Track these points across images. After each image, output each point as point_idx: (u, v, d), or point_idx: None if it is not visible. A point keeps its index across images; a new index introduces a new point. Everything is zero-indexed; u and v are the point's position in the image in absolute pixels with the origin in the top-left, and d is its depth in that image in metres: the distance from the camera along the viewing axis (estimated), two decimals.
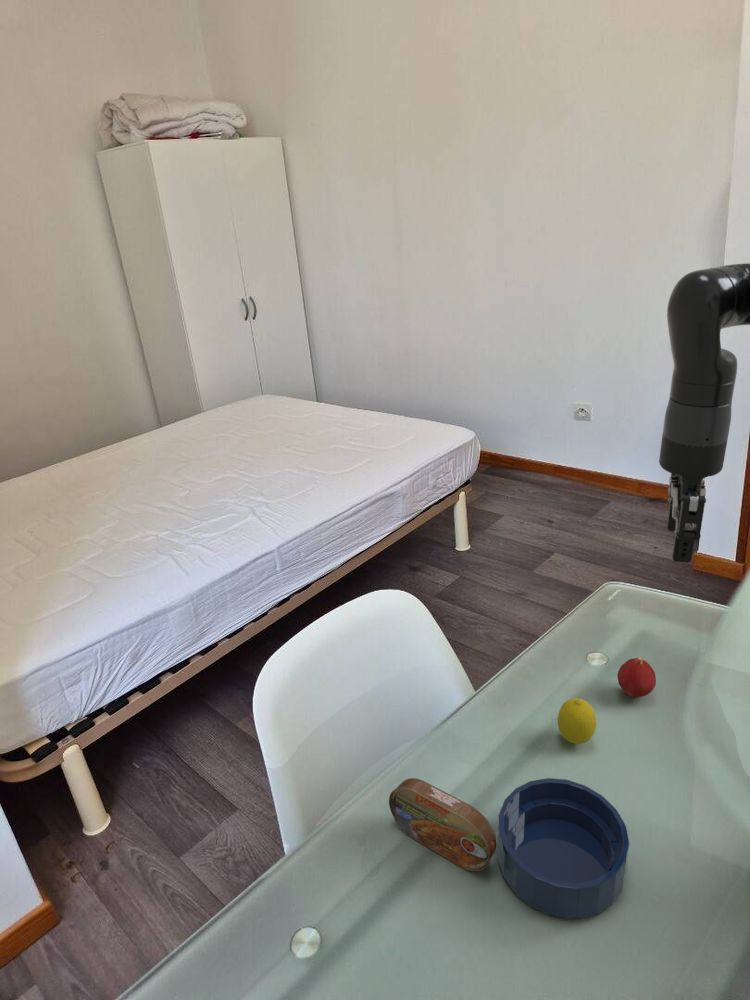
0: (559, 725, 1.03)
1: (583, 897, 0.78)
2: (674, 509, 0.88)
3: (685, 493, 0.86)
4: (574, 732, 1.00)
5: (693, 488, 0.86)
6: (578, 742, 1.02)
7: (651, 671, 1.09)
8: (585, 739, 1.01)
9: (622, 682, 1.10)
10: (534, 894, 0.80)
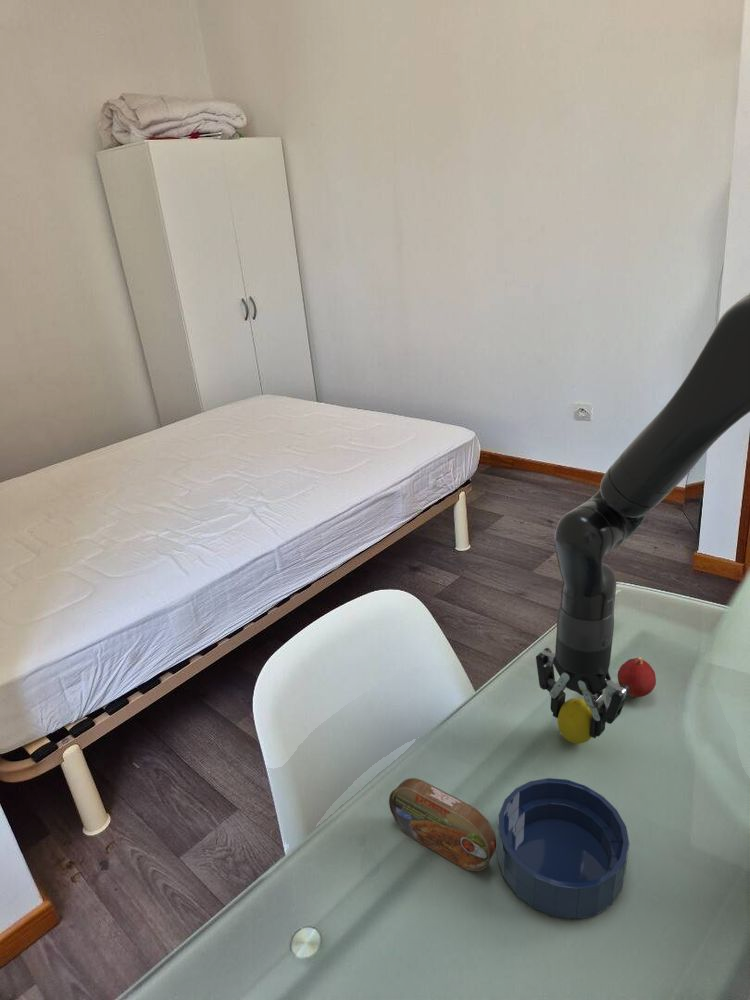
0: (559, 725, 1.03)
1: (583, 897, 0.78)
2: (592, 701, 0.97)
3: (605, 685, 0.95)
4: (574, 732, 1.00)
5: (606, 678, 0.96)
6: (578, 742, 1.02)
7: (651, 671, 1.09)
8: (585, 739, 1.01)
9: (622, 682, 1.10)
10: (534, 894, 0.80)
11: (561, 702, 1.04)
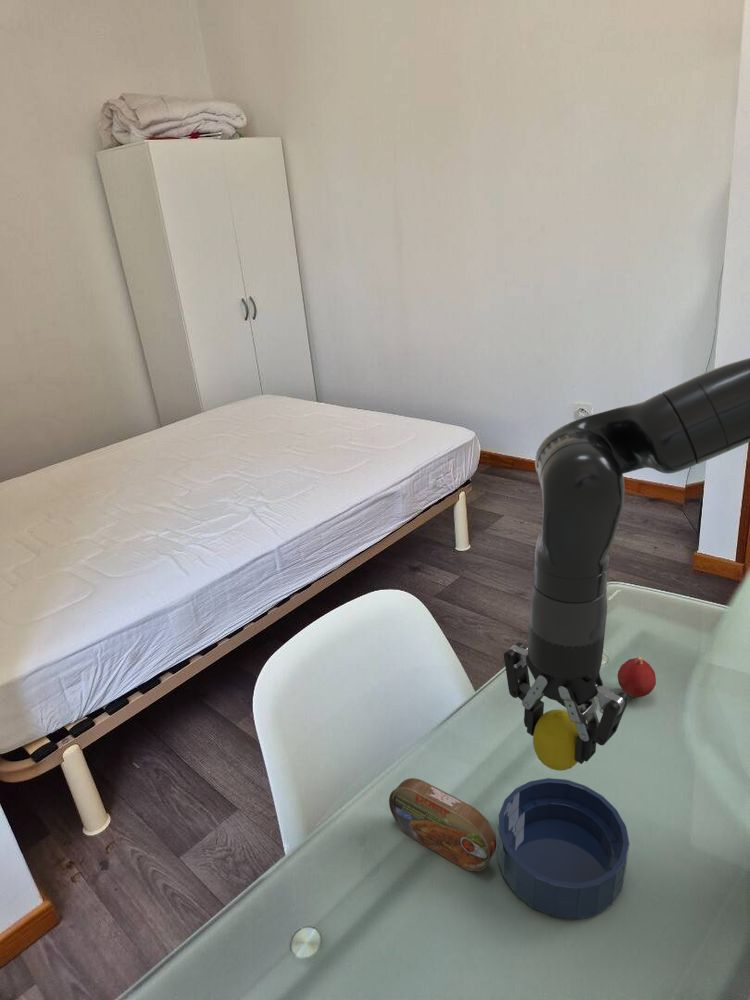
0: (535, 745, 0.77)
1: (583, 897, 0.78)
2: (578, 715, 0.71)
3: (595, 692, 0.70)
4: (553, 756, 0.75)
5: (597, 683, 0.70)
6: (560, 769, 0.76)
7: (651, 671, 1.09)
8: (568, 765, 0.75)
9: (622, 682, 1.10)
10: (534, 894, 0.80)
11: (537, 714, 0.78)
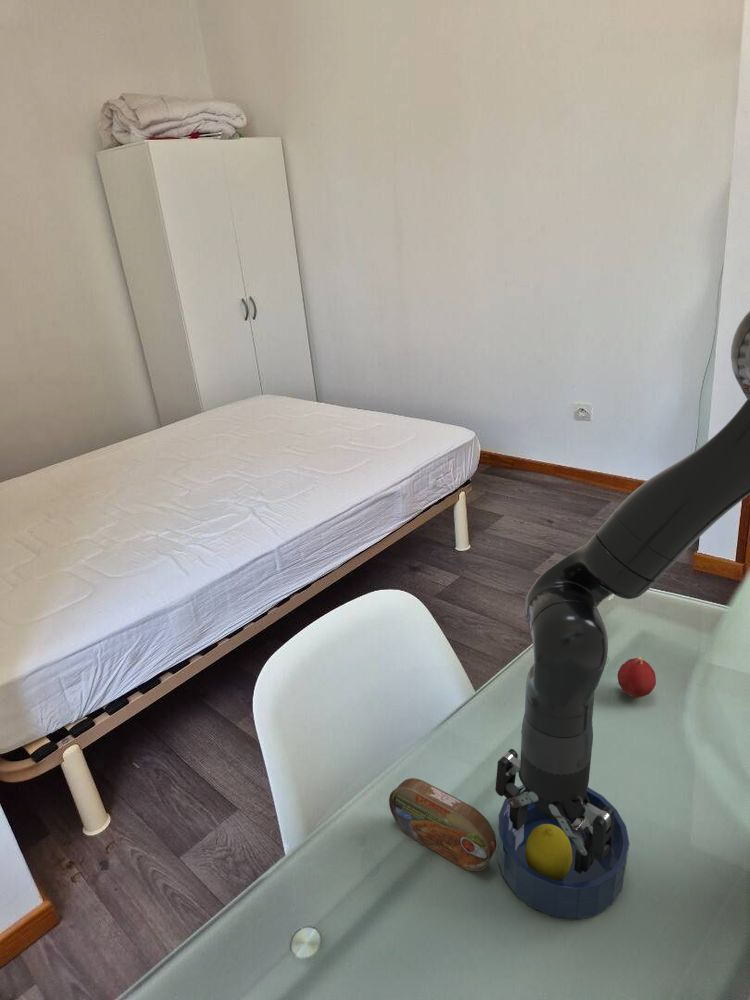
0: (527, 858, 0.83)
1: (583, 897, 0.78)
2: (571, 830, 0.76)
3: (583, 812, 0.75)
4: (544, 871, 0.81)
5: (583, 801, 0.76)
6: None
7: (651, 671, 1.09)
8: (558, 879, 0.81)
9: (622, 682, 1.10)
10: (534, 894, 0.80)
11: (522, 811, 0.84)
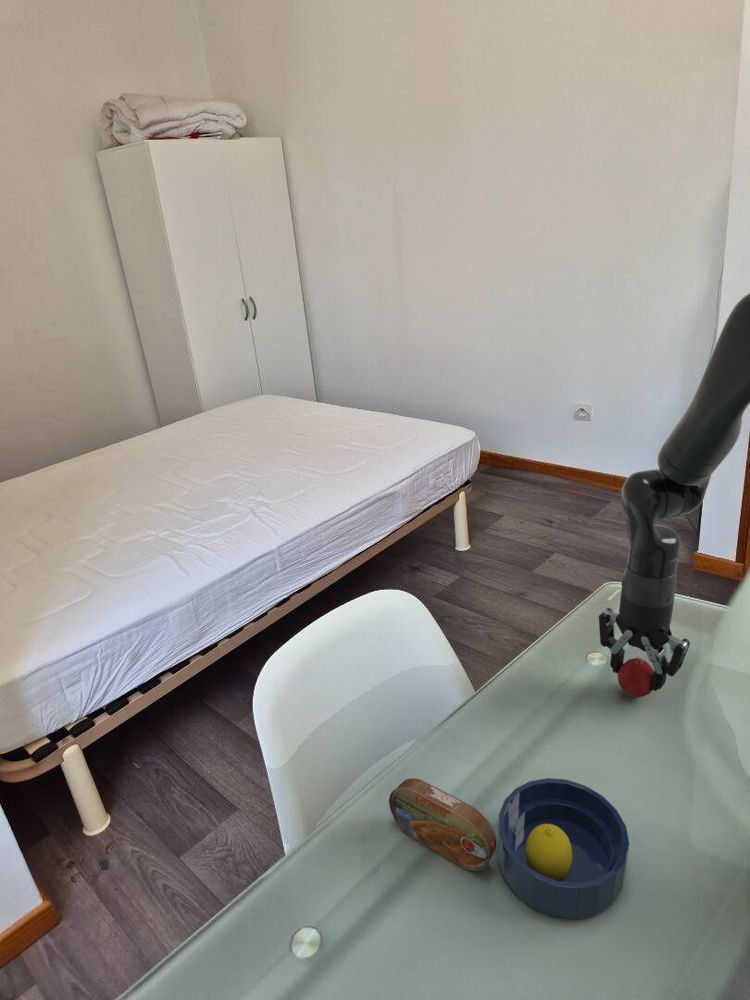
0: (527, 858, 0.83)
1: (583, 897, 0.78)
2: (655, 655, 1.05)
3: (667, 639, 1.03)
4: (544, 871, 0.81)
5: (668, 633, 1.04)
6: None
7: (651, 671, 1.09)
8: (558, 879, 0.81)
9: (622, 682, 1.10)
10: (534, 894, 0.80)
11: (620, 658, 1.12)
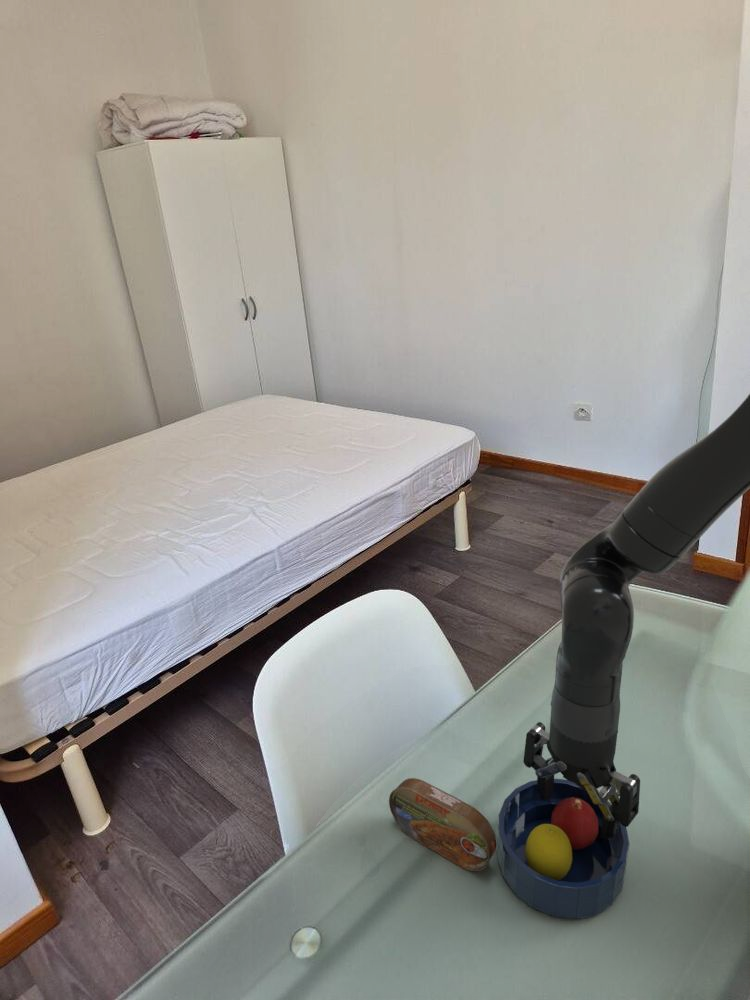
0: (527, 858, 0.83)
1: (583, 897, 0.78)
2: (598, 797, 0.80)
3: (610, 779, 0.79)
4: (544, 871, 0.81)
5: (610, 769, 0.80)
6: None
7: (592, 818, 0.85)
8: (558, 879, 0.81)
9: None
10: (534, 894, 0.80)
11: (549, 782, 0.88)
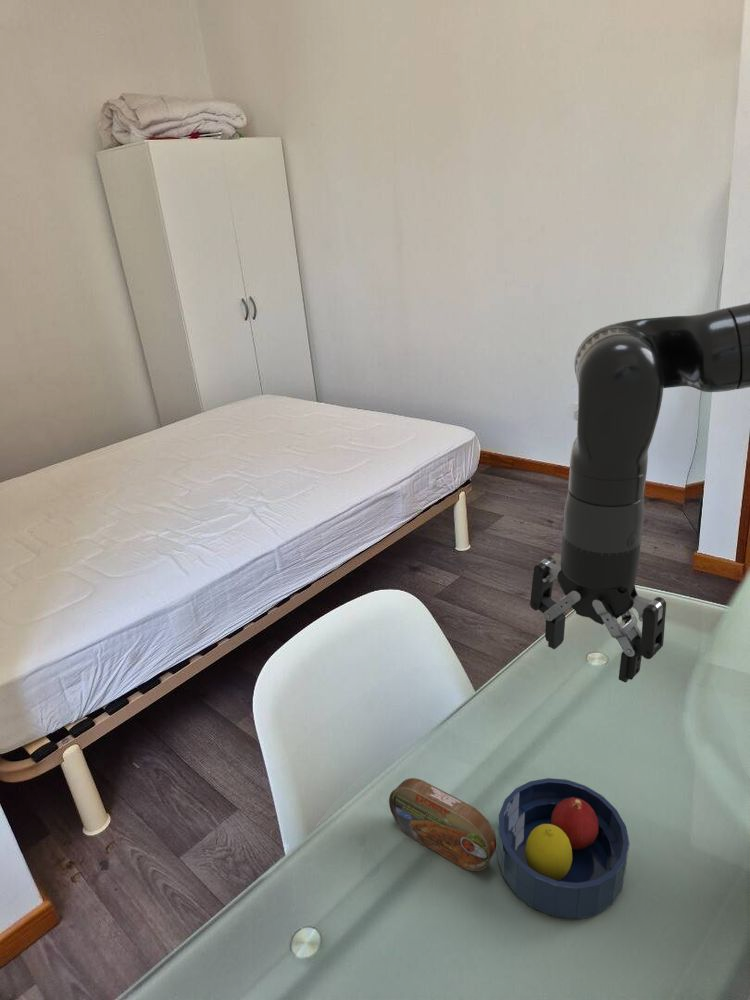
0: (527, 858, 0.83)
1: (583, 897, 0.78)
2: (617, 627, 0.69)
3: (631, 604, 0.68)
4: (544, 871, 0.81)
5: (631, 594, 0.69)
6: None
7: (592, 818, 0.85)
8: (558, 879, 0.81)
9: None
10: (534, 894, 0.80)
11: (559, 627, 0.77)
